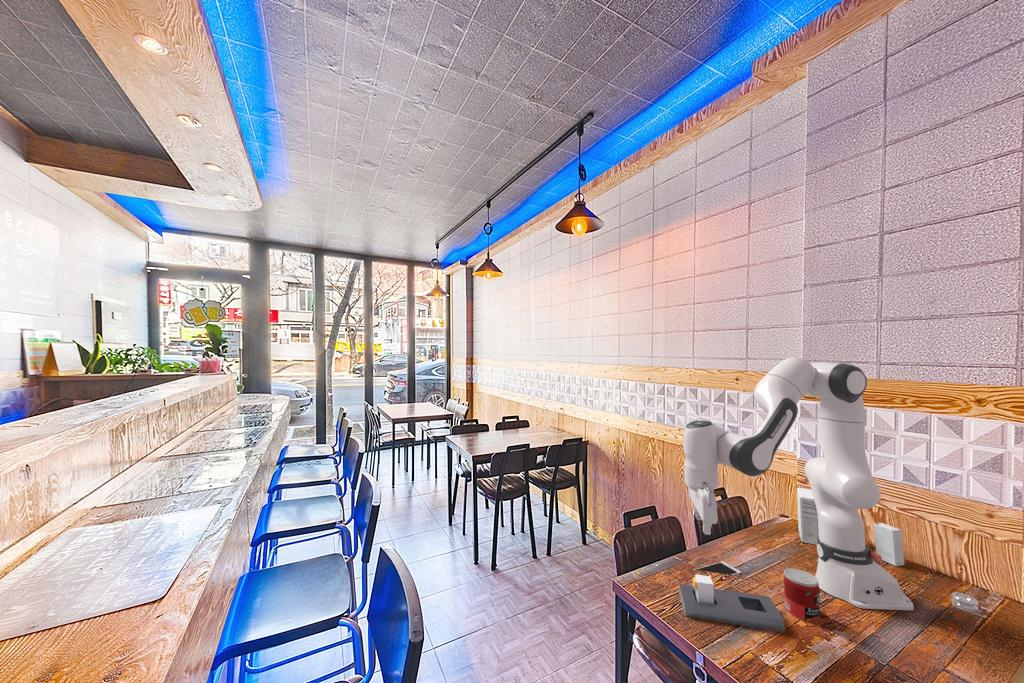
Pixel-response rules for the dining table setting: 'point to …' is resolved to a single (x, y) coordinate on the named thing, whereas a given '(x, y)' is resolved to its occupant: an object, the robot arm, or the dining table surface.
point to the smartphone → (720, 568)
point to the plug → (704, 589)
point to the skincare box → (889, 544)
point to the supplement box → (807, 516)
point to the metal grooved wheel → (965, 602)
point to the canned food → (802, 595)
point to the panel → (733, 608)
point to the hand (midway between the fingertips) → (702, 526)
